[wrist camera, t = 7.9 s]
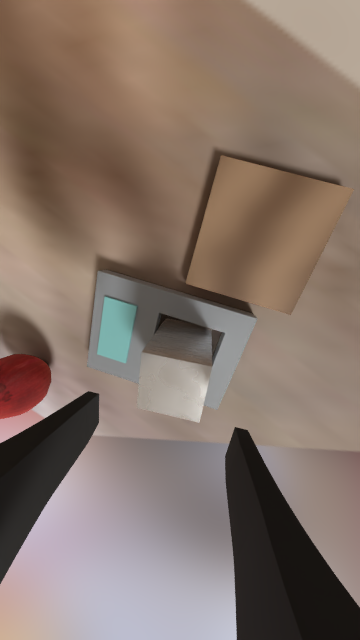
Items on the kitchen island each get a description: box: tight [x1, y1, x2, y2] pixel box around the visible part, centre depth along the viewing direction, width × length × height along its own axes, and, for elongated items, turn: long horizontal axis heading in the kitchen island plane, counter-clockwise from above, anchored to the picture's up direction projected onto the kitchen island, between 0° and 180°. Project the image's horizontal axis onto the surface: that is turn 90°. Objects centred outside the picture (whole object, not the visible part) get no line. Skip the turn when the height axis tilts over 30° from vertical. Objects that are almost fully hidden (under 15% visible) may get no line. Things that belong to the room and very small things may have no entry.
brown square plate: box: [185, 155, 354, 315], centre depth 15 cm, size 9×9×1 cm
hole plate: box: [87, 270, 257, 410], centre depth 18 cm, size 14×10×2 cm
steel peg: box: [137, 318, 212, 422], centre depth 15 cm, size 4×4×7 cm
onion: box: [0, 354, 51, 419], centre depth 18 cm, size 6×6×8 cm
